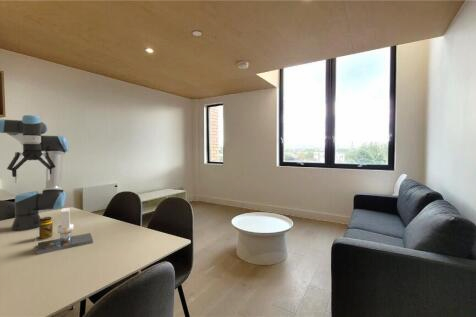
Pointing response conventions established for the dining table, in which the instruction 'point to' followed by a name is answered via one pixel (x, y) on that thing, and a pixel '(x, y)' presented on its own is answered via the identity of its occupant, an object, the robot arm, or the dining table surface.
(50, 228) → the condiment
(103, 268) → the dining table surface
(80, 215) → the dining table surface
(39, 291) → the dining table surface
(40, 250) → the base plate
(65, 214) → the lever handle
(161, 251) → the dining table surface
